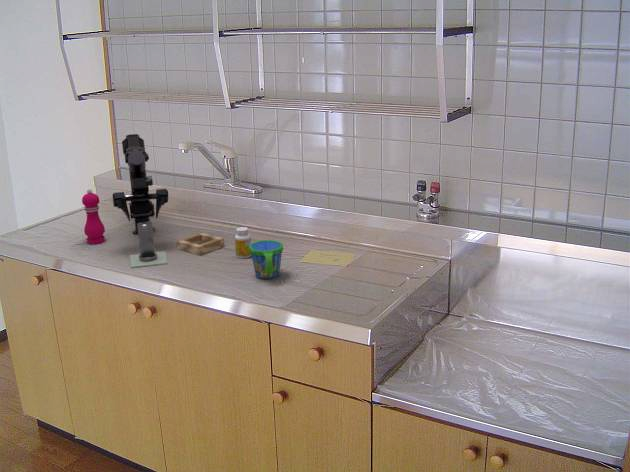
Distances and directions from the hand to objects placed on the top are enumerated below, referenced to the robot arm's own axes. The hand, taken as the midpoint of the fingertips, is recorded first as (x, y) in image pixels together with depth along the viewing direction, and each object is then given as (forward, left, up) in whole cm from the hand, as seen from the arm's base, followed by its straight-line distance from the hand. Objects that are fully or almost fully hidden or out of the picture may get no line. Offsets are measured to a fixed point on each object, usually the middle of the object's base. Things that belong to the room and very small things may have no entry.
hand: (143, 219), depth 240 cm
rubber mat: (+7, +3, -13) cm, 15 cm away
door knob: (+7, +3, -12) cm, 14 cm away
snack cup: (+20, +46, -13) cm, 51 cm away
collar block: (-6, +18, -13) cm, 23 cm away
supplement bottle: (+2, +35, -13) cm, 37 cm away
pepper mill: (-12, -23, -13) cm, 29 cm away
